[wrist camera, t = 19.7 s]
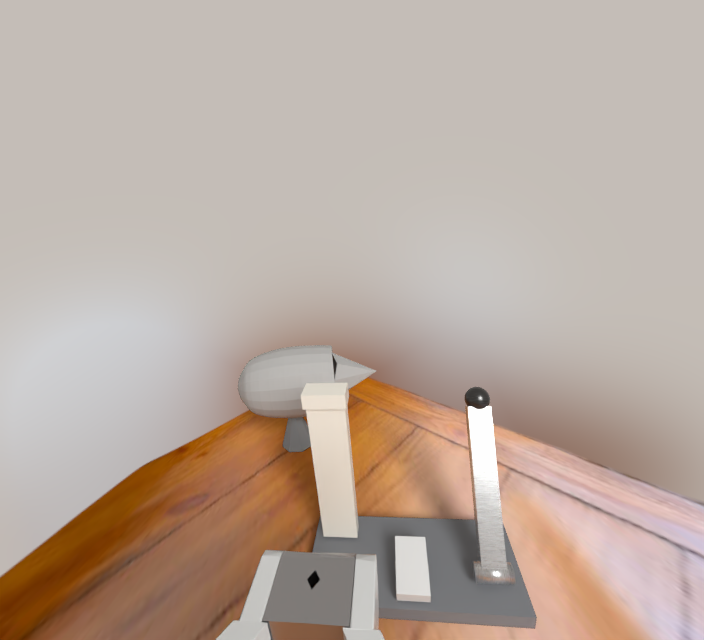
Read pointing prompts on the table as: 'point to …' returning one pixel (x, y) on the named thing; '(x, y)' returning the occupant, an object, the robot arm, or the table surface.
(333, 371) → the jet engine
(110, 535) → the table surface
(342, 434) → the beige rectangular bar
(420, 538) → the block
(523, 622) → the console
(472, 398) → the steel toggle lever
